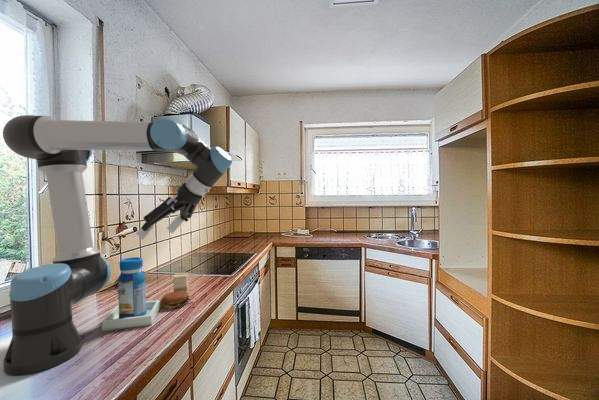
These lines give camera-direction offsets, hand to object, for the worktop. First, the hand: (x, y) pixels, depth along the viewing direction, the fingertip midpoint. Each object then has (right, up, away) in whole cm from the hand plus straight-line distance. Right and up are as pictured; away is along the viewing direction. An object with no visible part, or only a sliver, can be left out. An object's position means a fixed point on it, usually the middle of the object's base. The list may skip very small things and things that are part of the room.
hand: (155, 233), depth 93 cm
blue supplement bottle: (-8, -29, +1) cm, 30 cm away
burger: (+1, -29, +13) cm, 32 cm away
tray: (-8, -29, +2) cm, 31 cm away
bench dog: (-1, -29, +22) cm, 36 cm away
